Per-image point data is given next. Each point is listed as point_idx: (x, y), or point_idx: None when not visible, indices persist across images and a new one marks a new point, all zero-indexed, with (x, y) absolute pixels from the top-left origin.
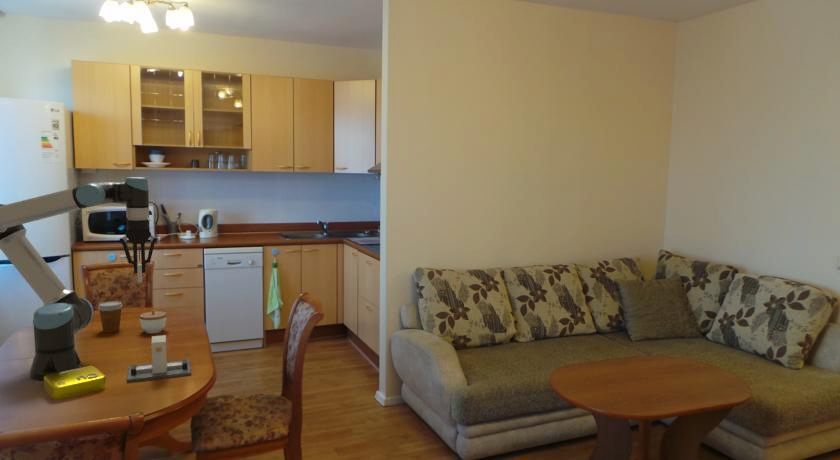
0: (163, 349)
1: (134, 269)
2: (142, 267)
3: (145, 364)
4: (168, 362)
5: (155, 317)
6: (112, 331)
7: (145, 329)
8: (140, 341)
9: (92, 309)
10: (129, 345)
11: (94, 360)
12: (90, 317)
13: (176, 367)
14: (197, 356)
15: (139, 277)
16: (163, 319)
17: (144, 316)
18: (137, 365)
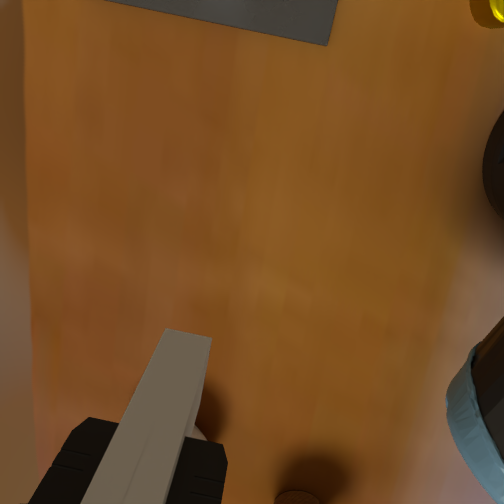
0: None
1: (212, 500)
2: (79, 499)
3: (264, 30)
4: (173, 2)
5: None
6: (297, 491)
7: (203, 435)
8: (233, 359)
9: (463, 423)
10: (273, 335)
11: (416, 230)
12: (472, 368)
13: None
14: (55, 63)
15: (177, 371)
16: None
17: None
18: (296, 34)
